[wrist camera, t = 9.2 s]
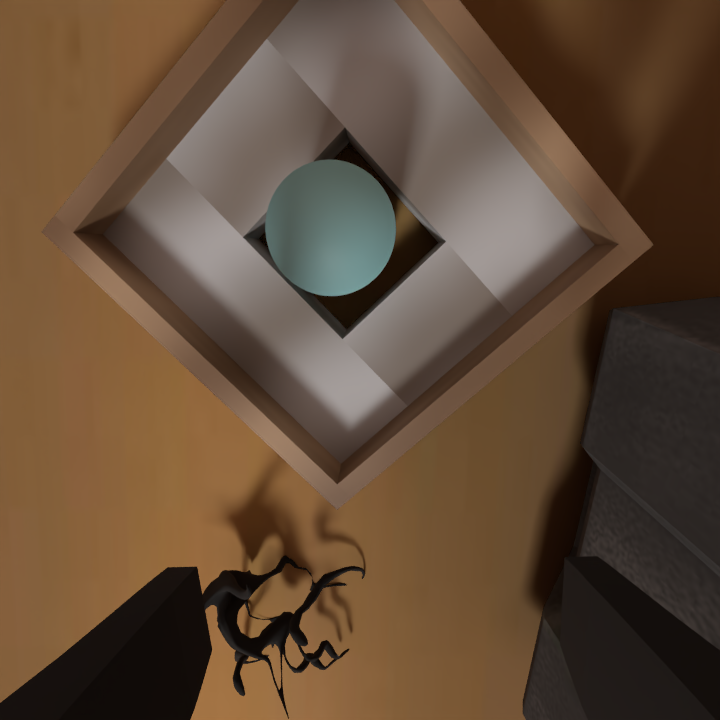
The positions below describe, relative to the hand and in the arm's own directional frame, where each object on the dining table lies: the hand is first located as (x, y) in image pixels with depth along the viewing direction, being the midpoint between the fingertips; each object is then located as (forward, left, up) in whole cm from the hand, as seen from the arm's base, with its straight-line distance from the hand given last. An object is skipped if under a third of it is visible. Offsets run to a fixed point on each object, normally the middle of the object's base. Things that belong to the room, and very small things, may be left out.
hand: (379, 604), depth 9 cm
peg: (-6, +4, -10) cm, 12 cm away
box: (-6, +4, -10) cm, 12 cm away
